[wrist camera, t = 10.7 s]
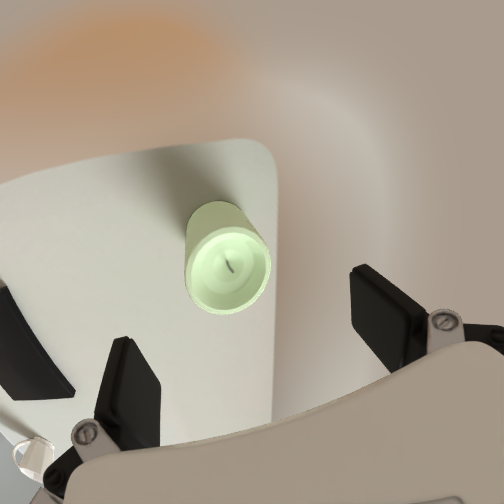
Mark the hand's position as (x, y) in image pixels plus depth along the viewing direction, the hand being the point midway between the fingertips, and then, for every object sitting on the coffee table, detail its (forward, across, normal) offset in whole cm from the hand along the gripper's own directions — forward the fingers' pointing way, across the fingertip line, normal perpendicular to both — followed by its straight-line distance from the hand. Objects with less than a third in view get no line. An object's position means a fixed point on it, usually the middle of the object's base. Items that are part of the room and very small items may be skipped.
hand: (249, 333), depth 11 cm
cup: (+13, +43, +26) cm, 52 cm away
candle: (+13, 0, 0) cm, 13 cm away
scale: (+13, +29, +6) cm, 32 cm away
